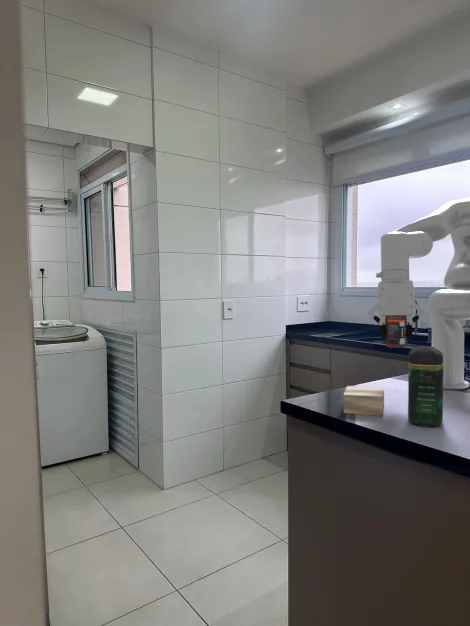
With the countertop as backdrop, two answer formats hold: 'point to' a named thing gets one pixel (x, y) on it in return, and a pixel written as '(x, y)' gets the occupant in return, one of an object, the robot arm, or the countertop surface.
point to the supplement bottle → (396, 331)
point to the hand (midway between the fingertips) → (396, 337)
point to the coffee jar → (425, 386)
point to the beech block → (364, 400)
